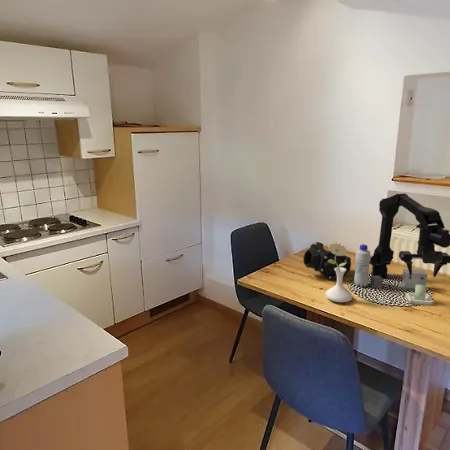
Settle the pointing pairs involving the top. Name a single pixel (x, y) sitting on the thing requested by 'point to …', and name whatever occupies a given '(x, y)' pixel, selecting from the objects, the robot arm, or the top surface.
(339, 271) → the flower in vase
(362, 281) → the bottle
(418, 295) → the pale green rounded cylinder
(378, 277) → the grey block
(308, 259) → the valve
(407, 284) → the block
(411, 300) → the tray
